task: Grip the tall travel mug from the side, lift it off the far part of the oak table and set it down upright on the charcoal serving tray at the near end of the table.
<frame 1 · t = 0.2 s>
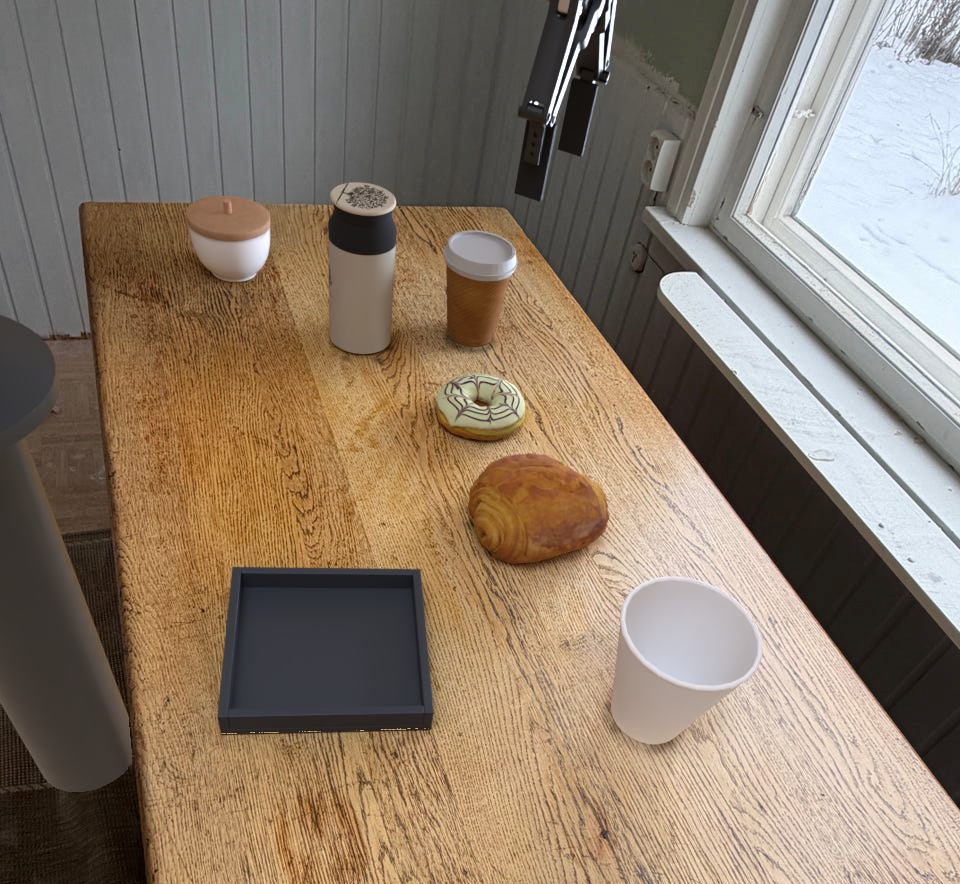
hand: (550, 173, 82), 27 cm above the table, tool pointing down, fingers open, 13 cm apart
croissant: (531, 524, 89), on the table
cup: (645, 714, 75), on the table
trinket box: (234, 272, 112), on the table
decorated donut: (477, 420, 99), on the table
serving tray: (328, 655, 74), on the table
disposable coffee cup: (469, 335, 110), on the table
travel mug: (359, 340, 106), on the table
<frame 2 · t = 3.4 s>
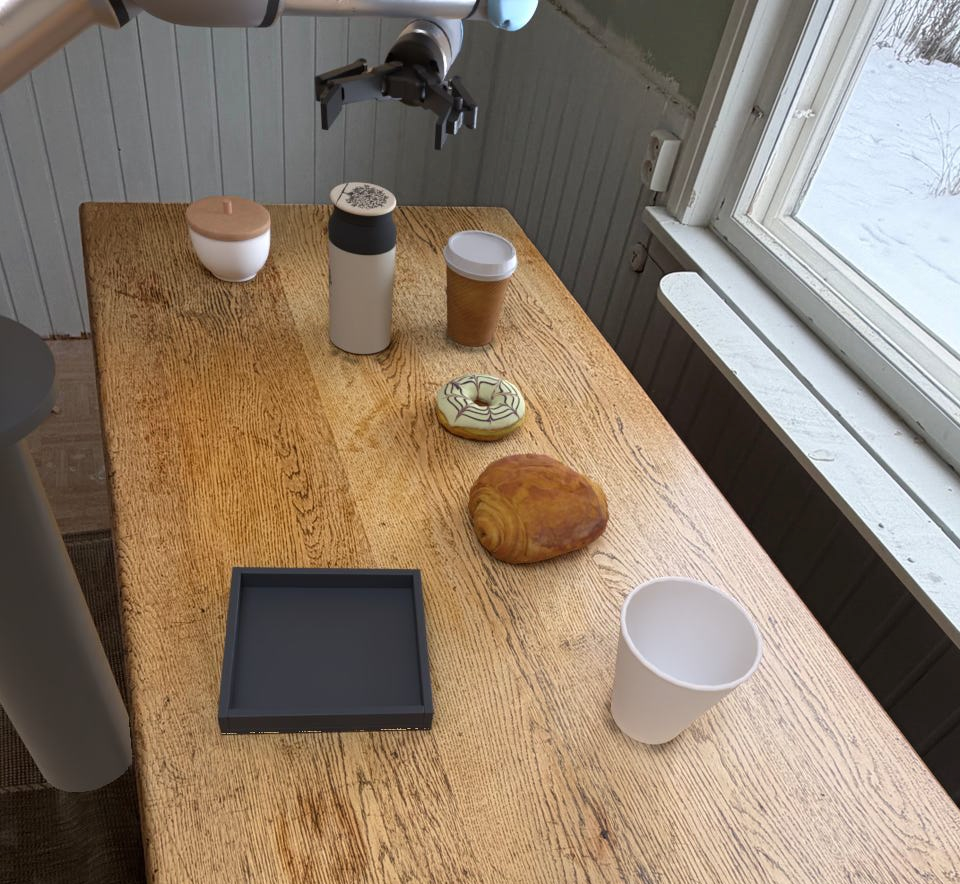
hand: (381, 127, 94), 22 cm above the table, tool horizontal, fingers open, 13 cm apart
nothing on the table moved.
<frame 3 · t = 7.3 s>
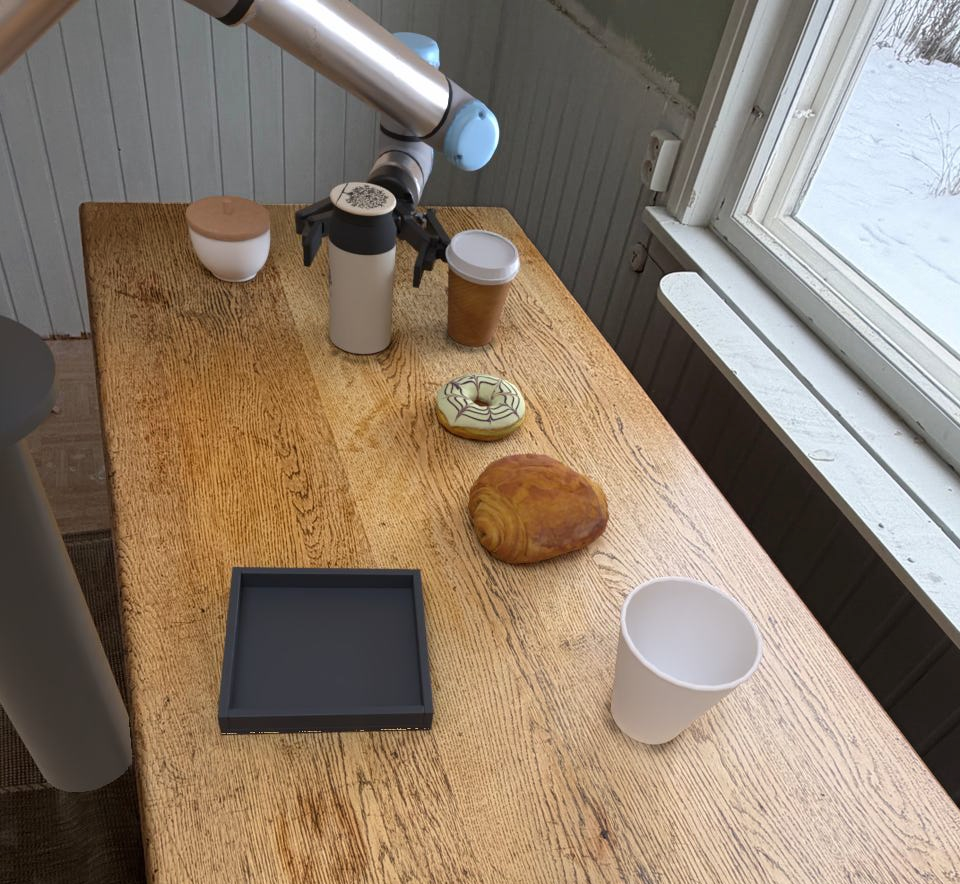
hand: (361, 266, 98), 10 cm above the table, tool horizontal, fingers open, 13 cm apart
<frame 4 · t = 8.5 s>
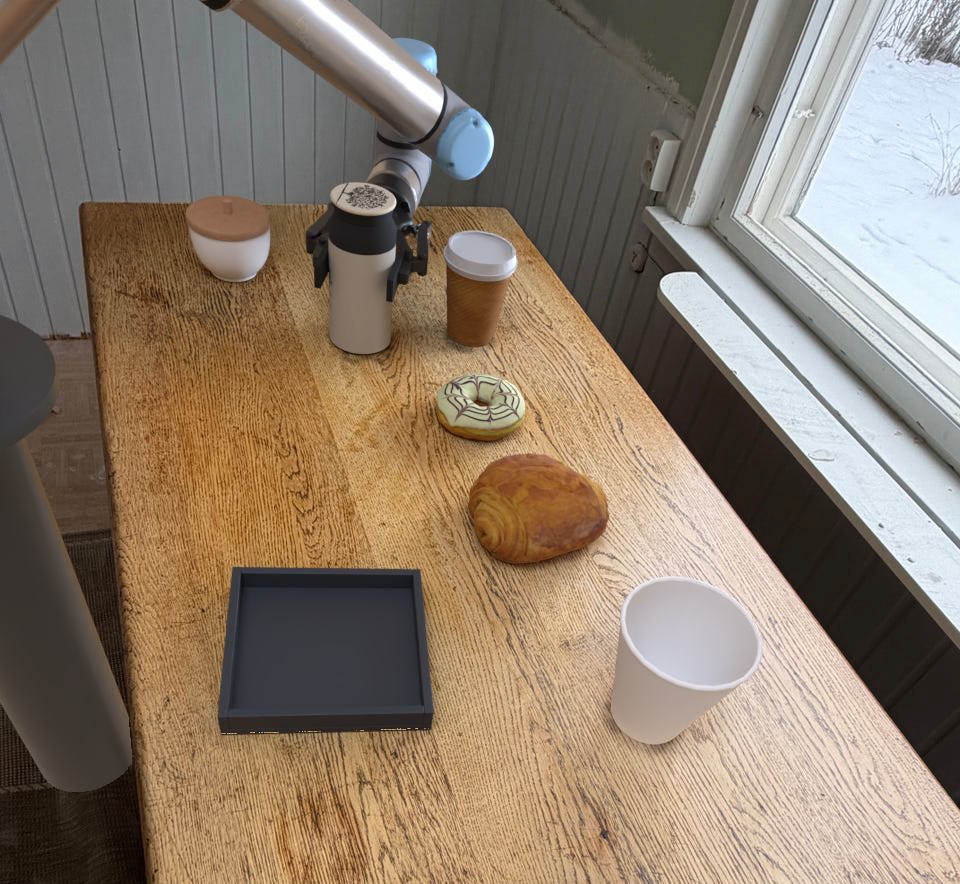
hand: (353, 284, 95), 10 cm above the table, tool horizontal, fingers closed on travel mug, 8 cm apart
travel mug: (360, 340, 106), on the table, touching gripper
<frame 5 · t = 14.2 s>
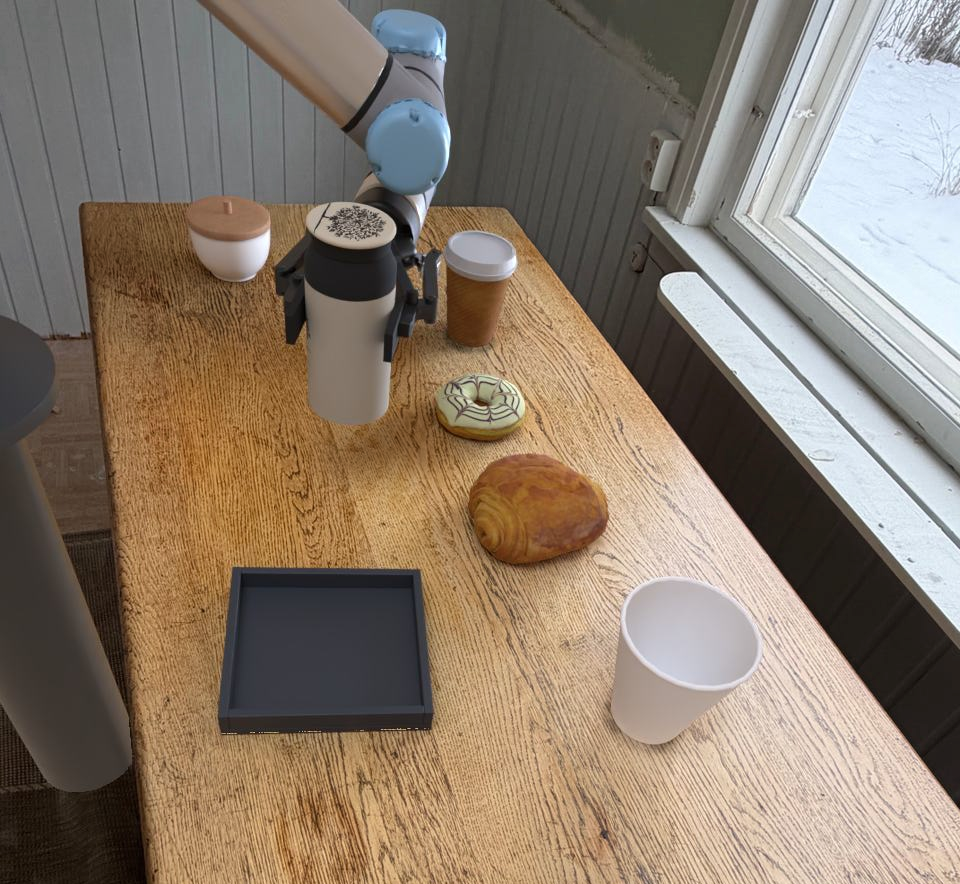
hand: (338, 339, 70), 20 cm above the table, tool horizontal, fingers closed on travel mug, 8 cm apart
travel mug: (348, 405, 81), point 10 cm above the table, touching gripper
everything else where it was.
when the fingers open (11 cm above the table, at t = 20.2 s): travel mug stays where it is, resting on serving tray.
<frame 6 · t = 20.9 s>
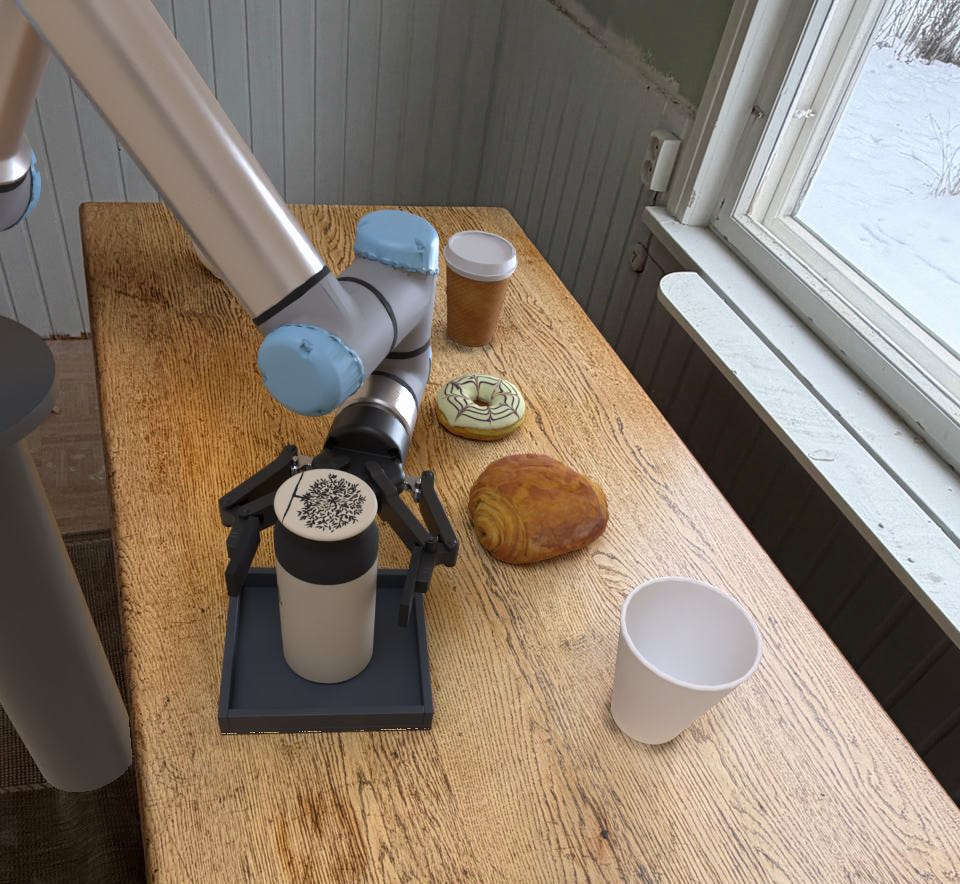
hand: (317, 601, 63), 11 cm above the table, tool horizontal, fingers open, 13 cm apart
travel mug: (328, 651, 73), point 1 cm above the table, touching serving tray
everything else where it was.
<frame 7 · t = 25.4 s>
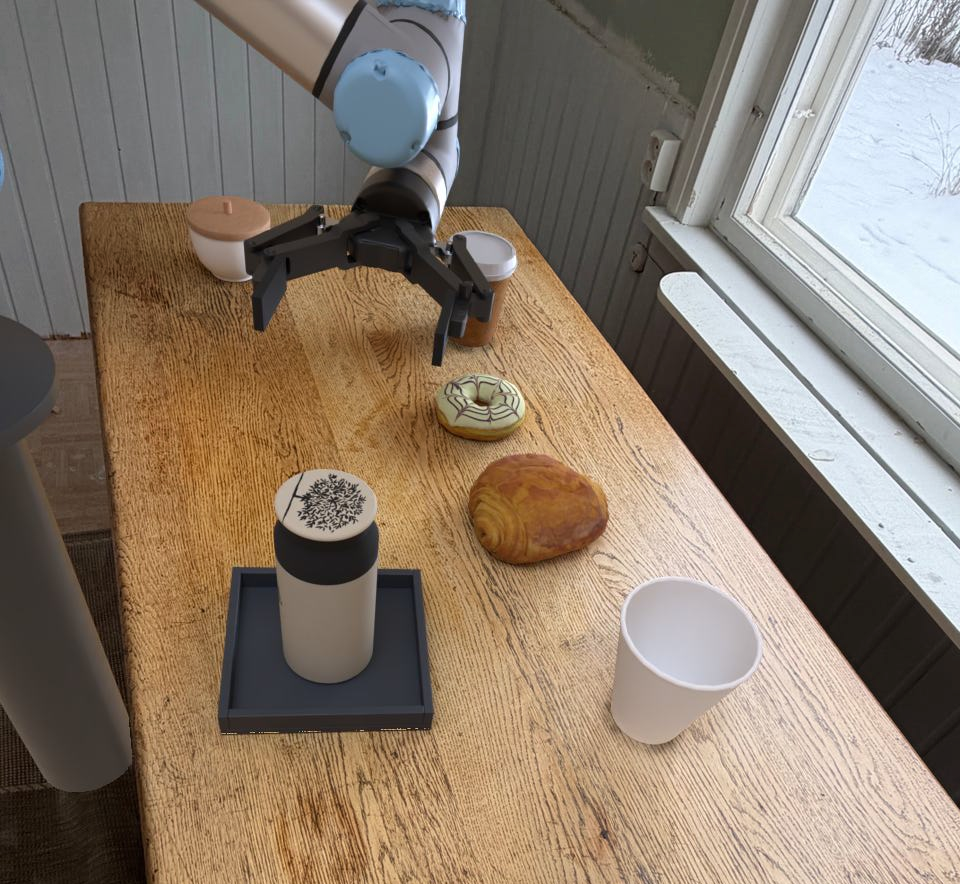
hand: (348, 332, 60), 26 cm above the table, tool horizontal, fingers open, 13 cm apart
nothing on the table moved.
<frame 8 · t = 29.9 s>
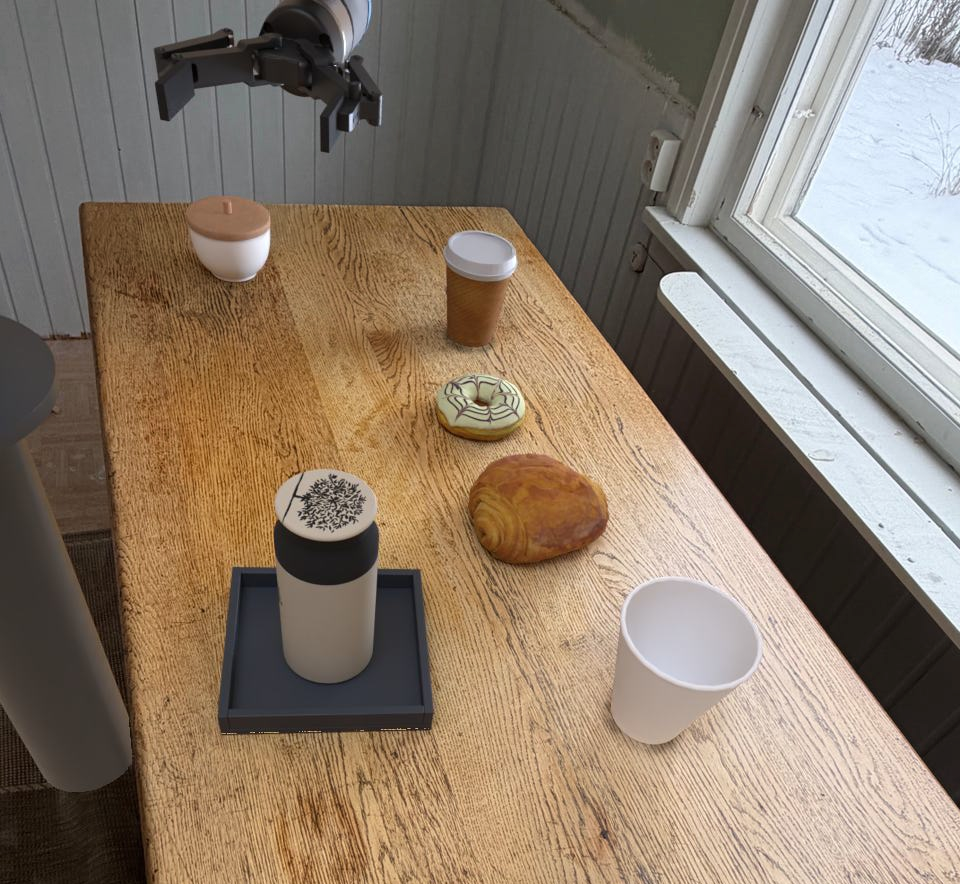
hand: (243, 118, 67), 32 cm above the table, tool horizontal, fingers open, 13 cm apart
nothing on the table moved.
at the end: travel mug inside the target area in the serving tray (0.0 cm from its centre), point 0.6 cm above the serving tray's base; travel mug tilted 0°; the gripper is holding nothing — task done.
